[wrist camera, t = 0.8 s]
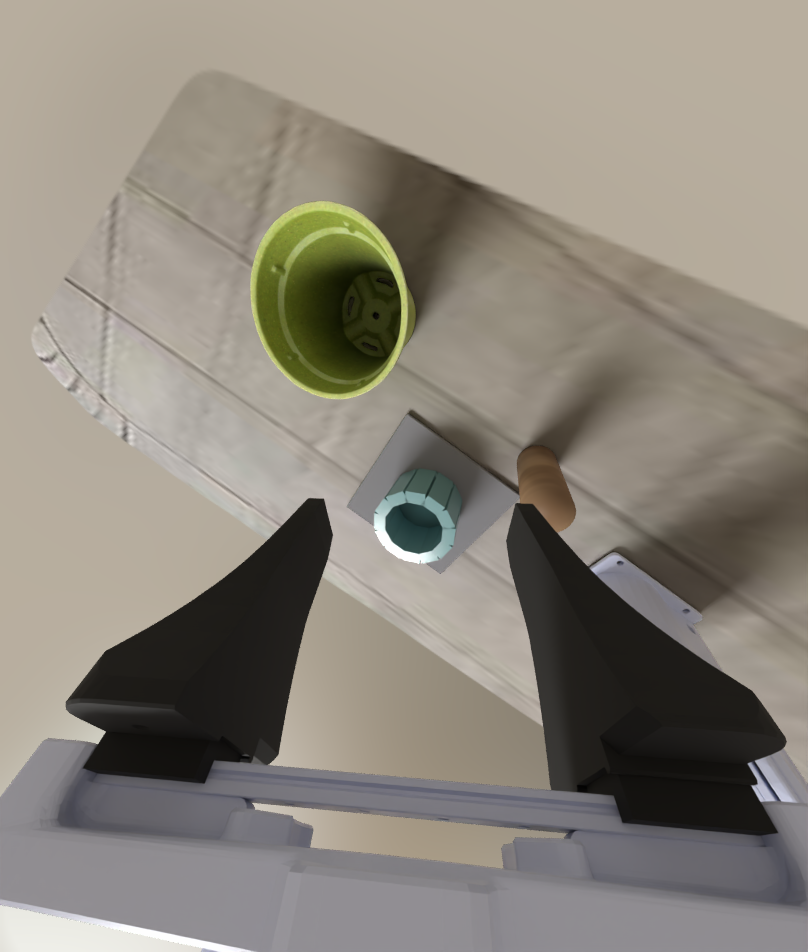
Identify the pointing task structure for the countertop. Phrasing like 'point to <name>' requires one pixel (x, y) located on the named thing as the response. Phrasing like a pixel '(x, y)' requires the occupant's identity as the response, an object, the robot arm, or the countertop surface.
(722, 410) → the countertop surface
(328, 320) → the plant pot
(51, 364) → the countertop surface
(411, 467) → the grey mat
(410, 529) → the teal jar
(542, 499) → the walnut peg
